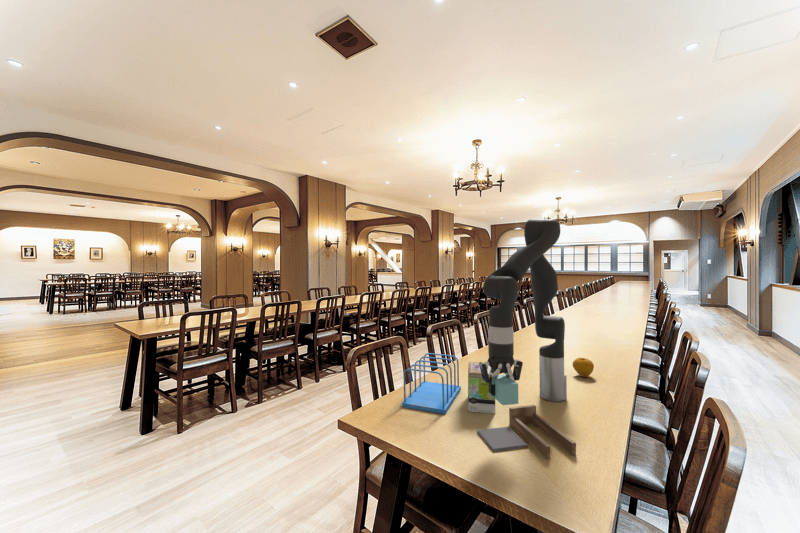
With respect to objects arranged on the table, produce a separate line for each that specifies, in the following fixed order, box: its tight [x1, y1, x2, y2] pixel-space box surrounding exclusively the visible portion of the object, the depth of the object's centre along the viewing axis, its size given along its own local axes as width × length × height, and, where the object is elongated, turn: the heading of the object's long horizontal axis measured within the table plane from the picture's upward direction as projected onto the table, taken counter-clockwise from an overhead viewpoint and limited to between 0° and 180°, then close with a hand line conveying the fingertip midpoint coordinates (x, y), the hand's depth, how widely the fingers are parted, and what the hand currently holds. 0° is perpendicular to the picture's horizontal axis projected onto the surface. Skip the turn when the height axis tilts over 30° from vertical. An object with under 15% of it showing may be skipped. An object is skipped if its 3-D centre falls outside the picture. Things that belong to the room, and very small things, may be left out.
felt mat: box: [477, 426, 528, 452], centre depth 101 cm, size 11×11×1 cm
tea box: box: [467, 361, 496, 414], centre depth 127 cm, size 15×10×15 cm
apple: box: [572, 357, 595, 378], centre depth 158 cm, size 9×9×9 cm
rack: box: [508, 404, 577, 460], centre depth 102 cm, size 9×20×6 cm, turn 11°
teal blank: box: [490, 374, 519, 406], centre depth 100 cm, size 5×8×6 cm, turn 10°
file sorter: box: [401, 352, 462, 415], centre depth 134 cm, size 25×17×15 cm
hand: (501, 394), depth 101 cm, fingers closed on teal blank, 5 cm apart
